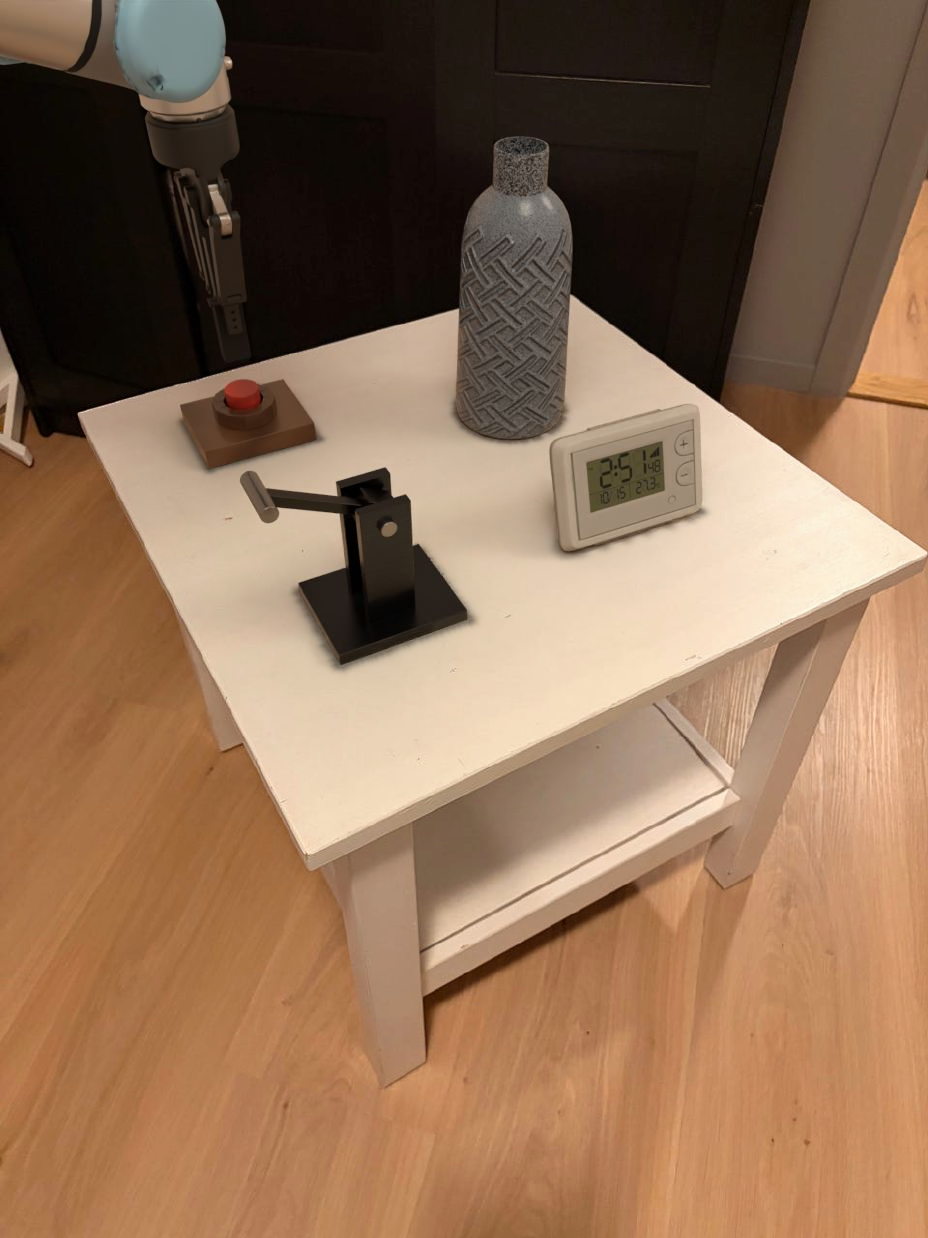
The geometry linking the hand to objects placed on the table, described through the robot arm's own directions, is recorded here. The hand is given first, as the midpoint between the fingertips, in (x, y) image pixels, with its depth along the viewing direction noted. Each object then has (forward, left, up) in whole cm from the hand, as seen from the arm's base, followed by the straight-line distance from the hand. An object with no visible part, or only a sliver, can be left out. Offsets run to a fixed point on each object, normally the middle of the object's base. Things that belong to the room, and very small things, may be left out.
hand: (236, 356), depth 96 cm
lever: (+16, -28, +3) cm, 32 cm away
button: (0, 0, -5) cm, 5 cm away
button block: (0, 0, -9) cm, 9 cm away
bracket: (+20, -25, -9) cm, 33 cm away
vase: (+28, +8, -9) cm, 30 cm away
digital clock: (+41, -10, -9) cm, 43 cm away
